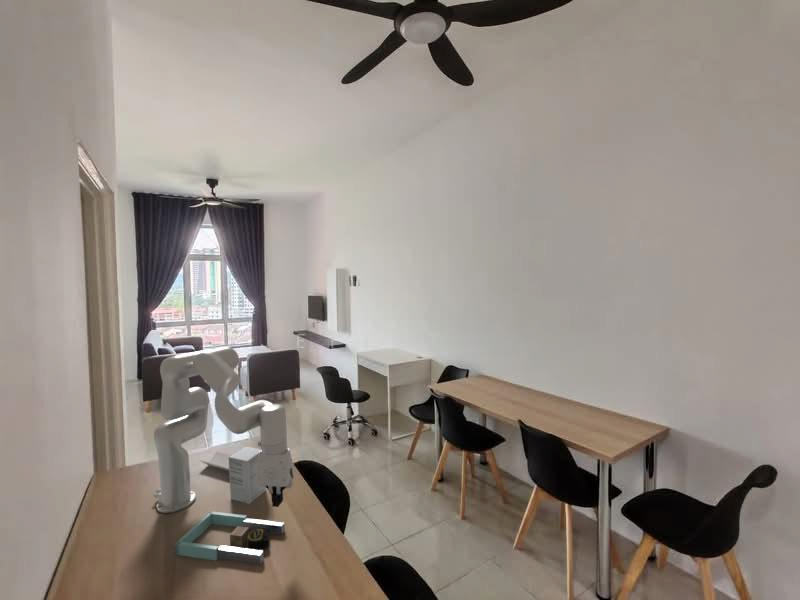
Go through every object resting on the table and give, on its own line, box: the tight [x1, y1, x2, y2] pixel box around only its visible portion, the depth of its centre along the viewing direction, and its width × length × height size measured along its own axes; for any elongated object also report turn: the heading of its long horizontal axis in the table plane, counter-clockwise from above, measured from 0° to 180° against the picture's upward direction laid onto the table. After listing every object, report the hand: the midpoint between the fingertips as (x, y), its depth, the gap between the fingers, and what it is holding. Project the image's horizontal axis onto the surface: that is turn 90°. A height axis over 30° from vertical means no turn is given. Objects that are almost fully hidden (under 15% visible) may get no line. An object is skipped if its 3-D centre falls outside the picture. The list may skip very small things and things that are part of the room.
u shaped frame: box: [174, 510, 248, 561], centre depth 120 cm, size 14×16×4 cm
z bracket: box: [199, 451, 232, 472], centre depth 165 cm, size 12×25×6 cm
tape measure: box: [245, 527, 270, 551], centre depth 117 cm, size 7×7×4 cm
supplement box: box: [228, 446, 267, 505], centre depth 144 cm, size 10×9×17 cm
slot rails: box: [217, 517, 286, 566], centre depth 118 cm, size 14×15×3 cm
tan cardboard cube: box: [229, 526, 250, 548], centre depth 118 cm, size 4×4×4 cm
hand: (277, 504), depth 115 cm, fingers closed
